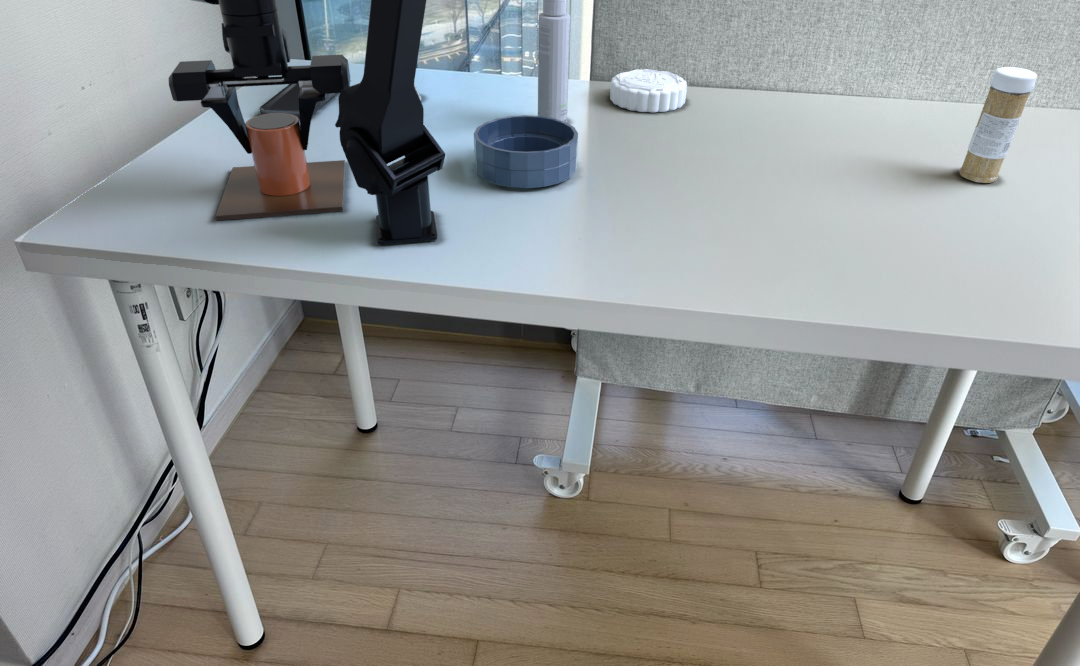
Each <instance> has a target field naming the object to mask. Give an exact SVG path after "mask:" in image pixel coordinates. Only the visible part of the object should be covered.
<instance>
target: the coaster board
mask: <svg viewBox="0 0 1080 666" xmlns="http://www.w3.org/2000/svg"><path fill="white" fill-rule="evenodd" d="M307 166H308V171H309V177H310V186H309V187H308V188H307V189H306V190H304V191H302V192H299V193H296V194H293V195H287V196H271V195H267V194H264V193H262V192H261V191H260V189H259V185H258V180H257V176H256V171H255V167H254V165H249V166H235V167H234V166H233V167H232V169H231V171H230V175H229V177H228V180H227V183H226V186H225V188H224V190H223V194H222V197H221V200H220V202H219V206H218V207H217V212H216V215H215V219H216V221H228V220H229V221H231V220H243V219H244V220H245V219H256V218H269V217H283V216H284V217H285V216H296V215H297V216H298V215H307V214H308V215H310V214H325V213H336V212H337V213H338V212H344V203H345V202H344V201H345V200H344V199H345V182H346V181H345V180H346V179H345V177H346V160H345V159H341V160H327V161H325V160H324V161H310V162H307Z"/></svg>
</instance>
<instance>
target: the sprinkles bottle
mask: <svg viewBox="0 0 1080 666" xmlns="http://www.w3.org/2000/svg"><path fill="white" fill-rule="evenodd" d="M1037 79H1038V74H1037V73H1036V72H1034V71H1032V70H1030V69H1027V68H1022V67H1015V66H1002V67H998V68H996V69H995V70H994V72H993V74H992V77H991V79H990V83H989V85H990V86H989V91H988V93H987V95H986V99H985V101H984V104H983V107H982V110H981V112H980V115H979V118H978V120H977V123H976V125H975V127H974V131H973V133H972V136H971V138H970V141H969V144H968V147H967V152H966V154H965V157H964V160H963V163H962V165H961V167H960V168H959V170H958V171H959V175H960V177H962V178H965V179H966V180H968V181H971V182H975V183H980V184H989V183H994V182H996V181H997V180H998V178H999V172H1000V170H1001V168H1002V165H1003V163H1004V160H1005V158H1006V157H1007V155H1008V152H1009V148H1010V147H1011V144H1012V142H1013V139H1014V137H1015V134H1016V131H1017V129H1018V127H1019V123H1020V121H1021V118H1022V115H1023V111H1024V109H1025V106H1026V103H1027V101H1028V99H1029V96H1030V95H1031V93H1032V92H1033V90H1034V88H1035V86H1036V82H1037Z"/></svg>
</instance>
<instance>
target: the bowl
mask: <svg viewBox="0 0 1080 666" xmlns="http://www.w3.org/2000/svg"><path fill="white" fill-rule="evenodd" d="M578 143H579V132H578V130H577V129H576V127H574V126H573V125H571V124H570V123H568V122H564V121H561V120H558V119H554V118H549V117H543V116H538V115H527V114H523V115H509V116H503V117H497V118H493V119H490V120H488V121H485V122H483V123H481V124H480V125H479V126H477V127H476V128H475V130H474V132H473V150H474V152H473V153H474V168H475V171H476V174H477V175H478V176H479V177H481V178H482V179H483V180H485V181H486V182H489V183H492V184H495V185H497V186H503V187H507V188H519V189H520V188H521V189H534V188H545V187H549V186H553V185H558V184H561V183H562V182H565V181H567V180H570V178H572V176H574V175H575V174H576V171H577V166H578V148H579V146H578V145H579V144H578Z"/></svg>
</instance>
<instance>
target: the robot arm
mask: <svg viewBox="0 0 1080 666" xmlns="http://www.w3.org/2000/svg"><path fill="white" fill-rule="evenodd" d="M191 1H193V2H199V3H203V4H208V5H215V6H216V5H217V6H218V5H219V10H220V15H221V19H222V22H221V36H222V43H223V48H224V51H225V52H226V53H228V54H230V58H231V63H232V67H233V68H224V69H223V68H222V69H221V68H219V69H217V68H216V66H215V63H214V62H213V60H212V59H209V60H208V59H207V60H206V59H205V60H186V61H179V62H178V64H176V66H175V68H174V69H173V71H172V72H171V74H170V75H169V77H168V86H169V90H170V94H171V95H170V96H171V98H172V101H175V102H193V101H196V102H197V101H200V105H201V107H202V108H210V109H211V110H212V111H213V112H214V113H215V114H216V115H217V116H218V117H219V118H220V120H221V121H222V122H223V123H224V124H225V125H226V126H227V128H228V129H229V130H230V131H231V133H232V134H233V136H234V138H236V140H237V141H238V142H239V144H240V145H241V147H242V148H243V150H244V152H245V153H247V154H248V155H250V154H251V155H252V153H251V149H250V145H249V140H248V136H247V131H246V127H245V123H246V121H245V119H244V116H243V113H242V110H241V107H240V104H239V99H238V94H237V89H236V88H243V87H261V86H262V87H263V86H281V85H283V86H286V85H289V84H299V88H300V92H299V97H298V103H299V117H300V119H299V122H300V131H301V142H302V146H303V150H305V151H307V150H308V146H309V139H310V130H311V126H312V125H311V124H312V119H313V116H314V114H313V113H314V109H315V106H316V103H317V102H320V101H325V100H326V94H331V93H336V94H339V95H338V99H337V100H338V115H337V120H336V122H335V123H334V126H335V127H336V128H339V142H340V146H341V148H342V151H343V153H344V156H345V158H346V160H347V163H348V166H349V168H350V171H351V173H352V175H353V178H354V181H355V183H356V186H357V187H358V188H360V189H363V190H365V191H366V192H367V195H370V196H375V201H376V208H377V209H376V210H377V214H376V215H375V233H376V234H375V235H376V236H375V237H376V244H377V245H380V246H383V245H384V246H385V245H394V244H395V245H396V244H405V243H407V244H408V243H419V242H430V241H437V240H438V239H439V238H438V237H439V236H438V230H437V225H436V224H437V223H436V218H435V213H434V211H433V210H432V209H431V197H430V196H431V195H430V186H429V185H430V184H429V176H430V175H432V174H434V173H436V172H439V171H441V170H443V167H444V163H445V159H446V153H445V151H444V149H442V147H441V146H440V145H439V143H438V142H437V141H436V139H435V138H434V136H433V135H432V134H431V133H430V131H429V130H428V128H427V127H426V126H425V124H424V111H425V110H424V109H425V108H424V105H423V102H422V99H421V100H420V98H419V96H418V93H417V91H416V89H417V88H416V89H415V87H414V85H415V79H416V73H417V72H416V71H417V66H418V59H419V54H420V53H419V52H420V47H421V40H422V39H421V38H422V32H423V25H424V20H425V13H426V6H427V0H370V8H369V17H368V26H367V36H366V39H367V40H366V47H365V57H364V66H363V67H364V68H363V75H362V78H361V81H359V82H358V83H355V84H353V85H351V71H350V65H349V60H348V58H346V57H345V56H344V55H343V54H324V55H312V56H311V59H310V60H311V61H310V64H309V65H289V63H290V62H291V55H290V54H291V53H290V49H289V43H288V35H287V32H286V31H285V30H284V29H283V28H282V27H281V21H280V16H279V15H280V14H279V10H278V6H277V0H191ZM394 161H395V162H394ZM388 164H389V165H388Z"/></svg>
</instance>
